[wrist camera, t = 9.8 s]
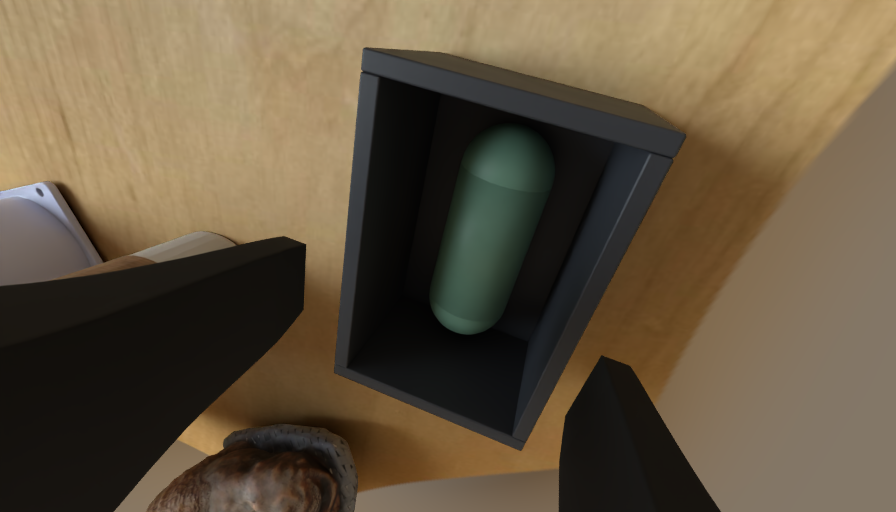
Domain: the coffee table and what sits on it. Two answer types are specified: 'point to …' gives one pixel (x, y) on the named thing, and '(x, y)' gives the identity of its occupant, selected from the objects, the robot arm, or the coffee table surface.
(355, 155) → the bin
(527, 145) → the green medicine capsule
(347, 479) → the bison figurine
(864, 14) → the coffee table surface
